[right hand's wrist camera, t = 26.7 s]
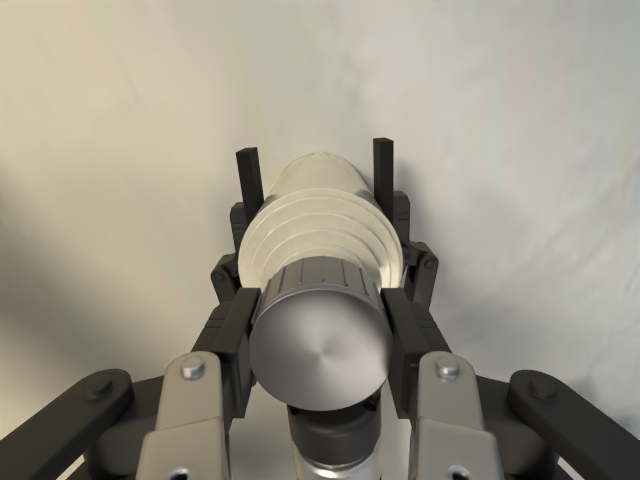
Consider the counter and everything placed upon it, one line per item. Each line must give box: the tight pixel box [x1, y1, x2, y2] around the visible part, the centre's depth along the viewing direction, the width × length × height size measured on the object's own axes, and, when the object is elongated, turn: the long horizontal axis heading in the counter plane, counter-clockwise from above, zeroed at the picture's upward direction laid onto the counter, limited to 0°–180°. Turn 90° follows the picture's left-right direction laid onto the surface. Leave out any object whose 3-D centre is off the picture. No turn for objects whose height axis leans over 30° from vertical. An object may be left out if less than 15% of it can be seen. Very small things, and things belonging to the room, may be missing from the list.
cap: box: [249, 256, 393, 411], centre depth 11 cm, size 4×4×2 cm
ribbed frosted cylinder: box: [238, 153, 403, 293], centre depth 20 cm, size 8×8×19 cm
